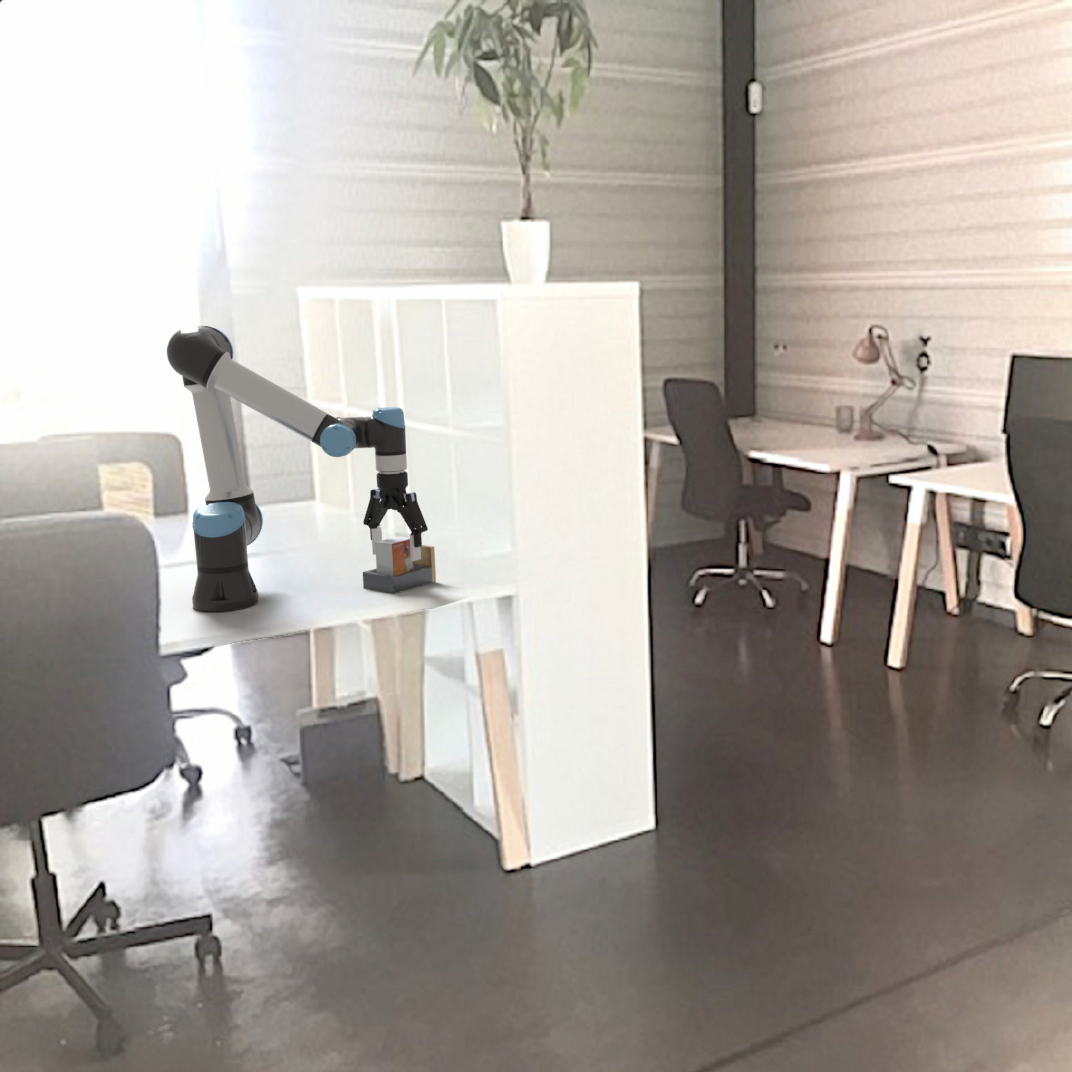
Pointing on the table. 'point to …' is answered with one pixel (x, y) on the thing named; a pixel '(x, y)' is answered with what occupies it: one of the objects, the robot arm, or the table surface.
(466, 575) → the table surface
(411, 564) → the small box
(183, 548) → the table surface
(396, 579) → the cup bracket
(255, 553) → the table surface
